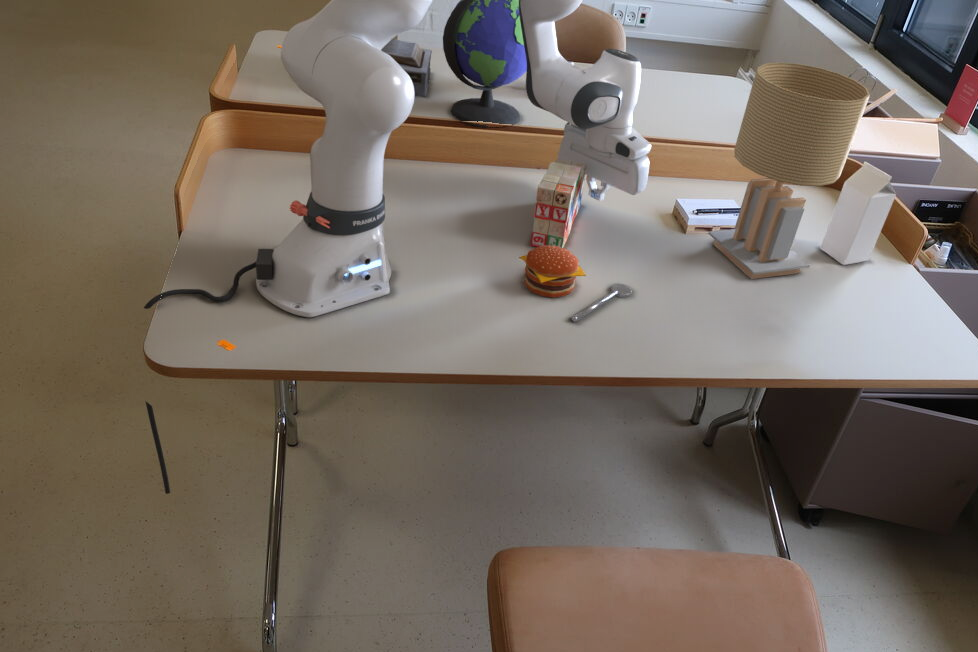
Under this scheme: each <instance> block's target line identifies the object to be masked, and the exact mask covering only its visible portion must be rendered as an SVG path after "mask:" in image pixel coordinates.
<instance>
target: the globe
mask: <svg viewBox="0 0 978 652" xmlns="http://www.w3.org/2000/svg"><path fill="white" fill-rule="evenodd" d="M442 50H443V53H444V57H445V61H446V63H447V65H448V67H449V68H450V70H451V71H452V73H453V75H454V76H455V77H456V78H457V79H458V80H459V81H460V82H461V83H463V84H464V85H466V86H468V87H470V88H472V89H475V90H478V91H482V92H481V95H480V97H471V98H464V99H460V100H457V101H455V102H454V103H453V105H452V106H451V108H450V114H451V115H452V117H453V118H455V119H456V120H457V121H460V122H462V121H477V122H478V121H483V122H492V123H499V124H514V125H516V124H518V123H519V122H520V118H521V117H520V113H519V111H518V110H517V108H515V107H514V106H512V105H511V104H509V103H506V102H503V101H501V100H498V99H497V100H496V99H494V96H493V90H496V89H497V88H501V87H502V86H507V85H509V84H511V83H513V82H515V81H517V80H519V79H520V78H521V77H523V75H524V74H526V73H527V61H526V54H525V48H524V42H523V36H522V29H521V23H520V16H519V0H460V1H458V2H457V4H456V5H455V7H454V8H453V10H452V11H451V12H450V15H449V16H448V18H447V20H446V23H445V25H444V28H443V34H442ZM473 83H475V84H473ZM463 123H464V124H467V125H471V126H474V127H480V128H490V127H488V126H486V125H479V124H473V123H467V122H463ZM490 129H491V128H490Z"/></svg>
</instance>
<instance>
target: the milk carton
mask: <svg viewBox="0 0 978 652" xmlns="http://www.w3.org/2000/svg"><path fill="white" fill-rule="evenodd" d="M892 178H893V176H892V175H890V174H888V173H886V172H885V171H884V170H881V169H879V168H878V167H875V166H874V165H872V163H869V162H867V161H864V162H863V164H862V166H861V167H860V168H859V169H858V170H856V171H855V172H853V174H852V175H851V176H850V177H848V178H847V179H846V180H845V181H844V183H843V186H842V187H841V191H840V193H839V196H838V198H837V202H836V204H835V207H834V209H833V213H832V215H831V218H830V221H829V223H828V226H827V228H826V231H825V234H824V237H823V239H822V242H821V244H820V247H819V249H820V250H821V251H822V252H824V253H825V254H827V255H828V256H830V257H831V258H833V259H834V260H836V261H837V262H838V263H840V264H841V265H842V266H846V265H852V264H857V263H864V262H868V261H869V260H870V259H871V256H872V254H873V251H874V249H875V248H876V244H877V241H878V240H879V238H880V234H881V232H882V229H883V227H884V225H885V222H886V220H887V218H888V216H889V213H890V211H891V208H892V206H893V203H894V201H895V198H896V196H897V193H896V191H895V188H894V187H893V185H892V183H891V180H892Z"/></svg>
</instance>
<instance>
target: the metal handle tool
mask: <svg viewBox="0 0 978 652" xmlns="http://www.w3.org/2000/svg"><path fill="white" fill-rule="evenodd" d="M631 294H632V288H631V287H630V286H628V285H626V284H623V283H615V284H613V285H611V287H610V293H608V294H606V295H605V296H603V297H601V298H600V299H598V300H597V301H595V302H593V303H592V304H590V305H589V306H587V307H586V308H584V309H582V310H580V311H578V313H576V314H574V315H573V316H572V317H571V321H572V322H573V323H576V322H578V321H579V320H581V319H582V318H584V317H586V316H587V315H589V314H590V313H592V312H593V311H595V310H597V309H598V308H600V307H601V306H603V305H604V304H606V303H607V302H609V301H611V300H612V299H614V298H615V297H619V298H628V297H630V296H631Z"/></svg>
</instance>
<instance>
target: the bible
mask: <svg viewBox="0 0 978 652" xmlns="http://www.w3.org/2000/svg"><path fill="white" fill-rule="evenodd" d="M381 51H383V52H385V53H386V54H388V55H390V56H391V57H392V58H393V59H394V60H395V61H396V62H397V63H398V64H399V65H400V66H401V67H402V68H403V69H404V71H405V72H406V73H407V74H408V75H409V77H410V78H411V80H412V82H413V86H414V92H415V97H416V96H417V97H423V98H426V96H427V92H428V88H429V84H430V80H431V60H432V53H433V51H432V49H427V48H422V47H421V46H420V45H419V44H418V42H413V41H405V40H400V39H394V38H393V39H392V40H391V41H389V42H388V43H387V44H386V45H385V46H384V47H383V48H382V50H381Z"/></svg>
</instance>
